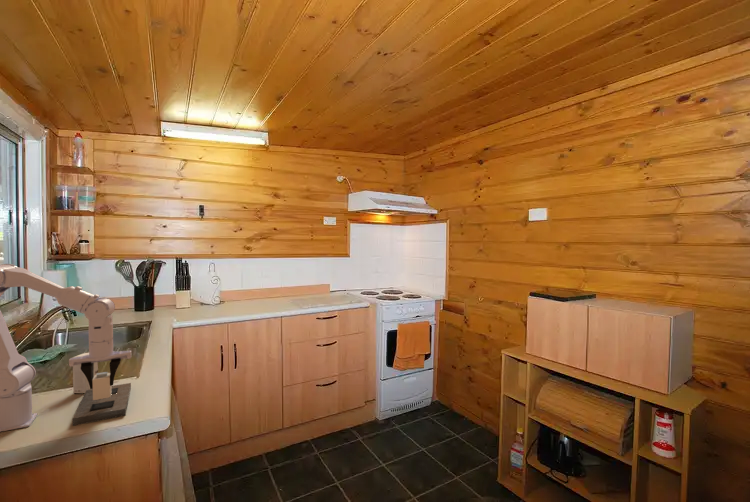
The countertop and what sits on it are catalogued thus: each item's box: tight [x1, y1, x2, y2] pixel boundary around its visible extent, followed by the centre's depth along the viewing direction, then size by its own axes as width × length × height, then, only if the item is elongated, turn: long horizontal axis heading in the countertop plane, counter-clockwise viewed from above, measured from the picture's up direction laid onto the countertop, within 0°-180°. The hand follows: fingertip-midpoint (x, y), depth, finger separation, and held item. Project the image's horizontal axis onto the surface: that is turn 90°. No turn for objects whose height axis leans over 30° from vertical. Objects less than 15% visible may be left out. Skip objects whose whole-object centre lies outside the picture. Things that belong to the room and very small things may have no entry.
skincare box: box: [72, 352, 99, 394], centre depth 124 cm, size 6×4×12 cm
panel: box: [72, 382, 132, 427], centre depth 113 cm, size 12×22×2 cm, turn 30°
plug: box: [93, 371, 113, 400], centre depth 108 cm, size 4×4×7 cm
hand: (102, 386), depth 108 cm, fingers closed on plug, 4 cm apart
